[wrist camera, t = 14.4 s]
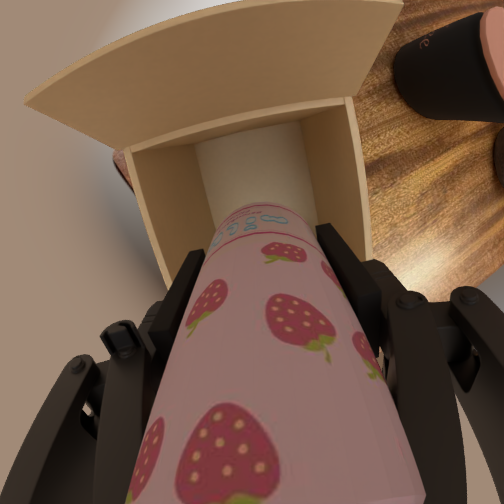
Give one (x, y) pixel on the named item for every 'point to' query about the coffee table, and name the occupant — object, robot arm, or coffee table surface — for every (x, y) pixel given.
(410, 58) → the coffee jar
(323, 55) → the flap
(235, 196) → the carton
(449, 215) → the coffee table surface
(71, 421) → the robot arm
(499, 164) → the dark brown bone
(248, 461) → the beverage can
